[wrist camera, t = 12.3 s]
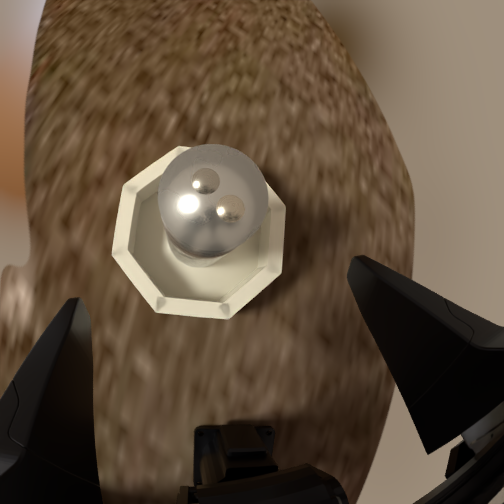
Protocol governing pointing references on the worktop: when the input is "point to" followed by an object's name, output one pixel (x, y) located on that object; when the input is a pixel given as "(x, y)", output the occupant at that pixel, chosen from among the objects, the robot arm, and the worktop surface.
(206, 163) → the canister
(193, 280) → the bowl
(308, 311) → the worktop surface
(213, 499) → the robot arm
